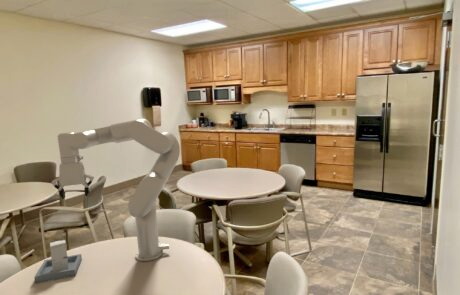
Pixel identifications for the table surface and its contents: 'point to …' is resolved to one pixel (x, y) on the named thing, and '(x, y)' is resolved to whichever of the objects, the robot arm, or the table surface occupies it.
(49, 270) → the tray
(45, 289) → the table surface
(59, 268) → the skincare box
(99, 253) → the table surface
